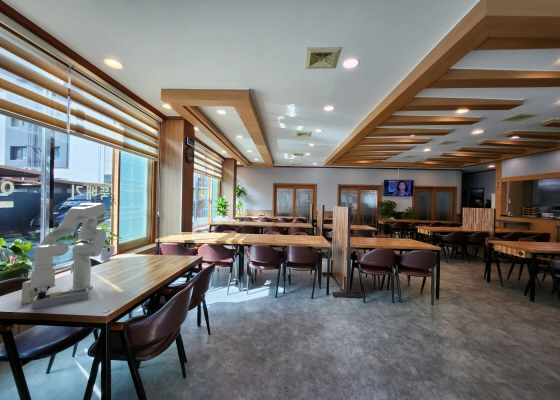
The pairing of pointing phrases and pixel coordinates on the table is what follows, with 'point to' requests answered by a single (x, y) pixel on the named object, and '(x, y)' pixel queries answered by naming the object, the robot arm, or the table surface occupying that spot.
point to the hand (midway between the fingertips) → (41, 298)
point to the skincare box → (27, 293)
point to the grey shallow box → (61, 298)
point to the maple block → (55, 293)
